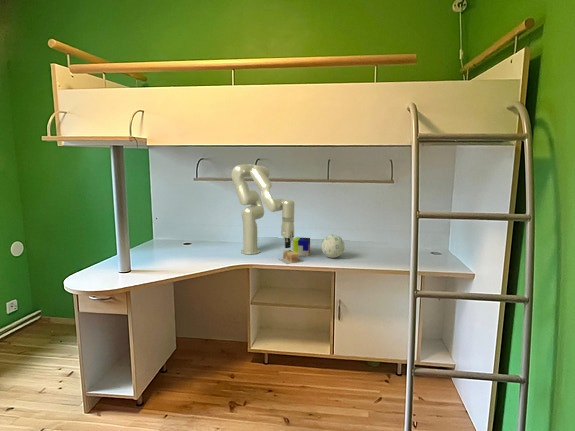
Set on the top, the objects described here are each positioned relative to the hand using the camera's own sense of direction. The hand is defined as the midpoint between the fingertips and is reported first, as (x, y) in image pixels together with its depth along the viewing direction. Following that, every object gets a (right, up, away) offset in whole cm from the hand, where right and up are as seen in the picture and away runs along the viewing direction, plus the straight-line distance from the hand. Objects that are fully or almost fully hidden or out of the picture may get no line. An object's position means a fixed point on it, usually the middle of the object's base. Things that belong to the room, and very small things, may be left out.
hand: (287, 247), depth 253 cm
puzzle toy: (+9, -5, +15) cm, 19 cm away
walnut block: (-1, -4, +2) cm, 5 cm away
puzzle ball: (+29, -7, +6) cm, 31 cm away
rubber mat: (+2, -8, -3) cm, 9 cm away
